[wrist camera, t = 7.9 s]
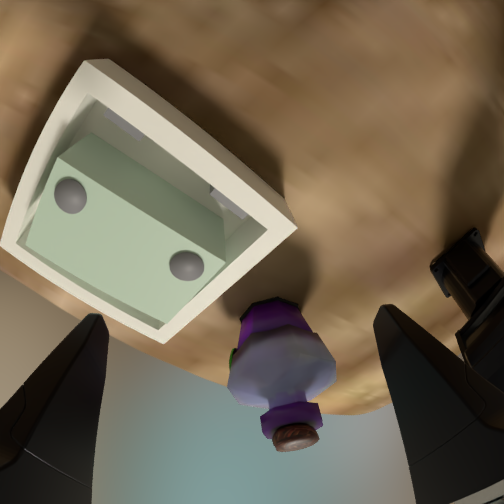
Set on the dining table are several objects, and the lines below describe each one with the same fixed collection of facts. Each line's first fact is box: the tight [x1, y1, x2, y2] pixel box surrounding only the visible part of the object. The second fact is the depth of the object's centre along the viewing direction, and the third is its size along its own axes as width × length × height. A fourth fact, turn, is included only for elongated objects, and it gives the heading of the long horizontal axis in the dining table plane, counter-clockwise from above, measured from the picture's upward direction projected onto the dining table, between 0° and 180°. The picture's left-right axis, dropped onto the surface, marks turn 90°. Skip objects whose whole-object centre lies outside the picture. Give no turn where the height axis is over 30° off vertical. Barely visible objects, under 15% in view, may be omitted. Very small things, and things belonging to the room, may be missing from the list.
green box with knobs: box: [25, 132, 226, 324], centre depth 16 cm, size 10×6×5 cm, turn 49°
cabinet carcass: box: [0, 59, 298, 344], centre depth 17 cm, size 14×13×4 cm
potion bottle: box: [227, 297, 336, 452], centre depth 22 cm, size 9×9×12 cm
